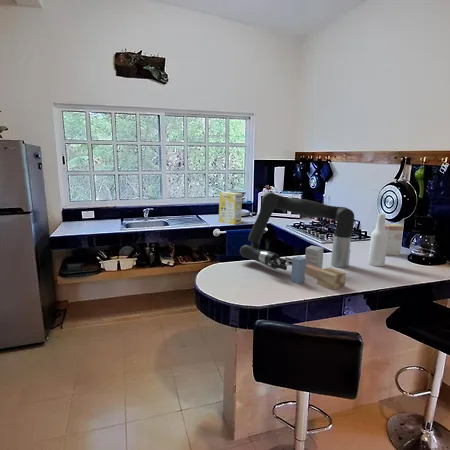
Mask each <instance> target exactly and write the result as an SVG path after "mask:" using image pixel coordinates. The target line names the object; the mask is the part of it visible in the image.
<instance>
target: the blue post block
mask: <svg viewBox="0 0 450 450" xmlns="http://www.w3.org/2000/svg"><path fill="white" fill-rule="evenodd" d="M291 259H292V266H291V273H290V282H292V283H295V284H297V285H299V284H302V283H305V277H306V276H305V275H306V274H305V264H306V258H305V257H303V256H299V255H297V256H294V257H292V258H291Z"/></svg>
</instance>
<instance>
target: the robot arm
mask: <svg viewBox="0 0 450 450" xmlns="http://www.w3.org/2000/svg"><path fill="white" fill-rule="evenodd" d="M276 209H277V210H282V211H283V210H284V211H287V212H290V213H292V214H295V215H297V216H303V217H307V218H318V219H319V218H323V219H327V220H332V221H335V222H336V226H335V230H334V231H333V238H332V239H333V241H332V248H331V249H332V252H331V263H330V264H331V266H333V267H335V268H347V267H349V265H350V258H351V257H350V255H351V241H352V234H353V231H354V226H355V213H354V212H353V210H352V209H350V208H348V207H345V206H335V205H334V206H333V205H327V204H325V203H324V204H323V203H322V202H318V201H314V200H310V199H305V198H297V197H286V196H283V195H279V194H276V193H274V192H266V193H264V194H263V195H262V196H261V207H260V211H259V213H258V216H257V218H256V219H255V221H254V223H253V226H252V228H251V230H250V232H249V235H248V238H247V239H248V241H249V242H251V243H250V245H249V244H244V245H242V246H241V247H240V249H239V253H240V255H241V257H243V258H246V259H249V260H252V261H256V262H258V263H260V264H262V265H264V266H267V267H269V268H271V269H275V270H277V269H278V270H279V269H280V270H282V271H287V270H288V266H290V267H292V258H289V257H287V256H285V257H281V256H280V255H279V254H277V253H276V252H272V251H268V250H264V249H261V248H260V245H261V244H260V243H261V240H262V238H263V235H264V232H265V230H266V228H267V225H268V222H269V221H270V218H271V216H272V215H273V213H274V210H276Z"/></svg>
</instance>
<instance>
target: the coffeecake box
mask: <svg viewBox="0 0 450 450" xmlns="http://www.w3.org/2000/svg"><path fill="white" fill-rule="evenodd" d="M376 225H377V223H375V226H376ZM375 229H376V227H375ZM375 229H374V230H375ZM385 231H386V232H387V234H388V240H387V249H386V256H399V257H400V256H401V249H402V248H401V247H402V240H403V232H404V225H401V224H399V223H385Z"/></svg>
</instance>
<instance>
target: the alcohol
mask: <svg viewBox="0 0 450 450" xmlns="http://www.w3.org/2000/svg"><path fill="white" fill-rule="evenodd" d="M377 214H378V215H377V220H376V224H377V225H376V224H375V228H376V229H373V231H372V232H371V234H370V241H369V242H370V244H369V250H368V251H369V254H368V261H367V262H368V265H369V266H373V267H377V268H378V267H384V266H385V263H386V256H387V255H386V249H387V240H388V234H387V232H386V231H385V224H386V218H387V217H386V216H387V214H386V213H381V212H379V213H377Z"/></svg>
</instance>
